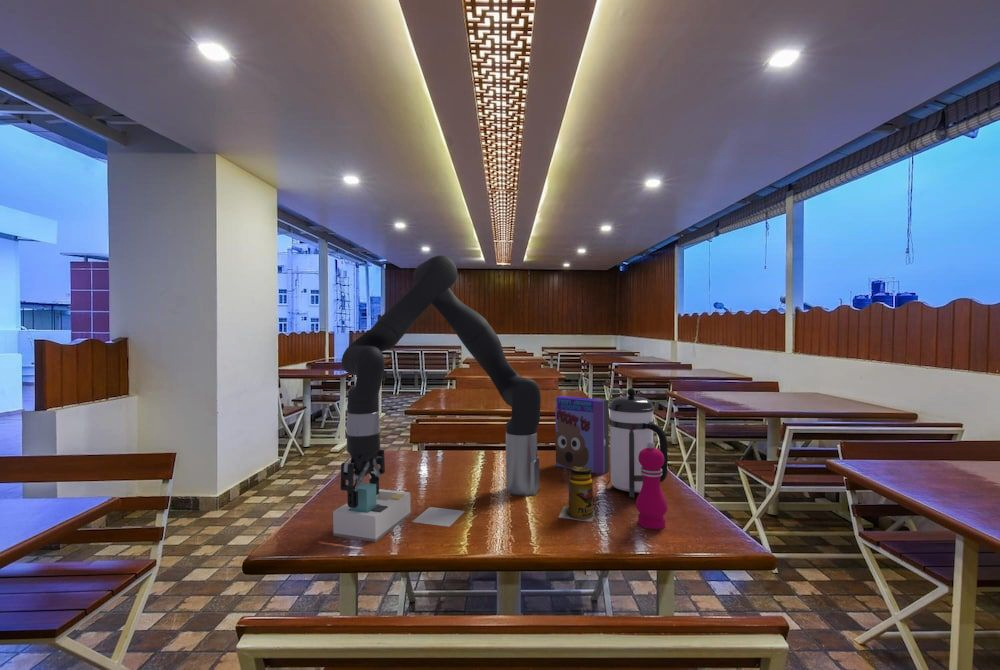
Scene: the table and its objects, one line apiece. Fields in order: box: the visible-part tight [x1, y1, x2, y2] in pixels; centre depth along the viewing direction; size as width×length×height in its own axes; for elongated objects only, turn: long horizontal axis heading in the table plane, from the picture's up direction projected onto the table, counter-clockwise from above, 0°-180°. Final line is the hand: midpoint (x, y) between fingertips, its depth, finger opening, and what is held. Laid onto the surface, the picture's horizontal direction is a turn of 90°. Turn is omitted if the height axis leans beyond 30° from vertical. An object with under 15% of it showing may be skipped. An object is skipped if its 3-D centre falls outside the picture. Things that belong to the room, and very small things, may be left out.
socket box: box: [332, 488, 411, 543], centre depth 112 cm, size 11×16×6 cm
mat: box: [411, 506, 465, 528], centre depth 117 cm, size 10×10×1 cm
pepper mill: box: [635, 441, 668, 530], centre depth 112 cm, size 7×7×20 cm
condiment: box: [558, 466, 596, 523], centre depth 118 cm, size 7×8×12 cm
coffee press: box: [605, 388, 669, 500], centre depth 134 cm, size 17×16×30 cm
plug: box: [352, 482, 377, 513], centre depth 108 cm, size 4×4×10 cm
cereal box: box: [554, 395, 610, 476], centre depth 157 cm, size 17×5×24 cm, turn 55°
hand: (364, 500), depth 108 cm, fingers open, 8 cm apart
